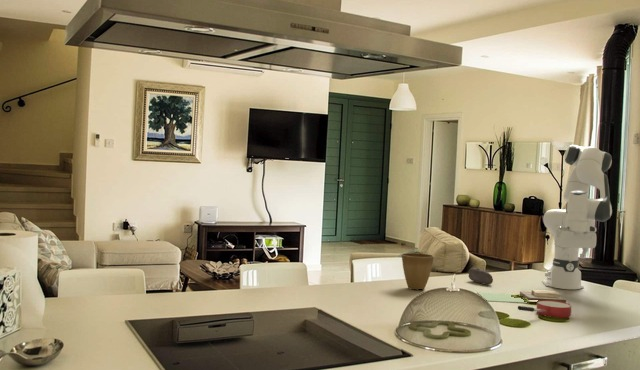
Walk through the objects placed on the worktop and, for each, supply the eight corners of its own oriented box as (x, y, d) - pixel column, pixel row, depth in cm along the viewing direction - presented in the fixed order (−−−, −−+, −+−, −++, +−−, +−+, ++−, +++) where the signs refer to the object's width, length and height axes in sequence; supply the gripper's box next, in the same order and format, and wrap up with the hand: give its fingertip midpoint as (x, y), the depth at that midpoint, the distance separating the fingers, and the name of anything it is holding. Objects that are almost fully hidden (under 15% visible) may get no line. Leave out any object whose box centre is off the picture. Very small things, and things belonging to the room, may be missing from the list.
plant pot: (438, 289, 291) (439, 255, 290) (421, 293, 280) (422, 258, 279) (411, 284, 301) (413, 251, 300) (393, 288, 290) (395, 253, 289)
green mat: (477, 292, 288) (477, 292, 288) (517, 294, 287) (517, 294, 287) (486, 301, 270) (486, 300, 270) (529, 303, 269) (529, 302, 269)
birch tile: (531, 293, 281) (531, 289, 281) (553, 294, 281) (553, 290, 281) (535, 296, 275) (535, 292, 275) (558, 297, 275) (558, 293, 275)
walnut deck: (519, 295, 285) (519, 291, 285) (554, 297, 285) (555, 293, 285) (529, 302, 271) (529, 297, 271) (566, 304, 271) (566, 299, 271)
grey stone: (495, 285, 308) (496, 272, 308) (487, 286, 305) (488, 272, 305) (475, 280, 321) (475, 267, 321) (467, 280, 319) (467, 267, 319)
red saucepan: (541, 327, 227) (542, 310, 227) (508, 320, 236) (509, 303, 236) (576, 315, 250) (576, 299, 250) (544, 309, 259) (545, 294, 259)
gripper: (562, 227, 270) (560, 258, 271) (599, 228, 277) (597, 259, 277) (552, 225, 276) (550, 256, 277) (589, 226, 283) (587, 257, 283)
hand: (574, 257), depth 277 cm, fingers open, 8 cm apart
